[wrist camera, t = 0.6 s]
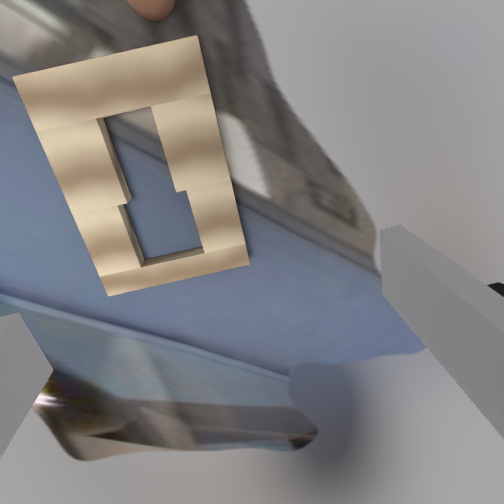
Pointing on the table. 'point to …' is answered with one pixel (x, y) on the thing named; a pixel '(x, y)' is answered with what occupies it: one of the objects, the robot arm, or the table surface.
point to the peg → (152, 8)
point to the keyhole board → (108, 168)
